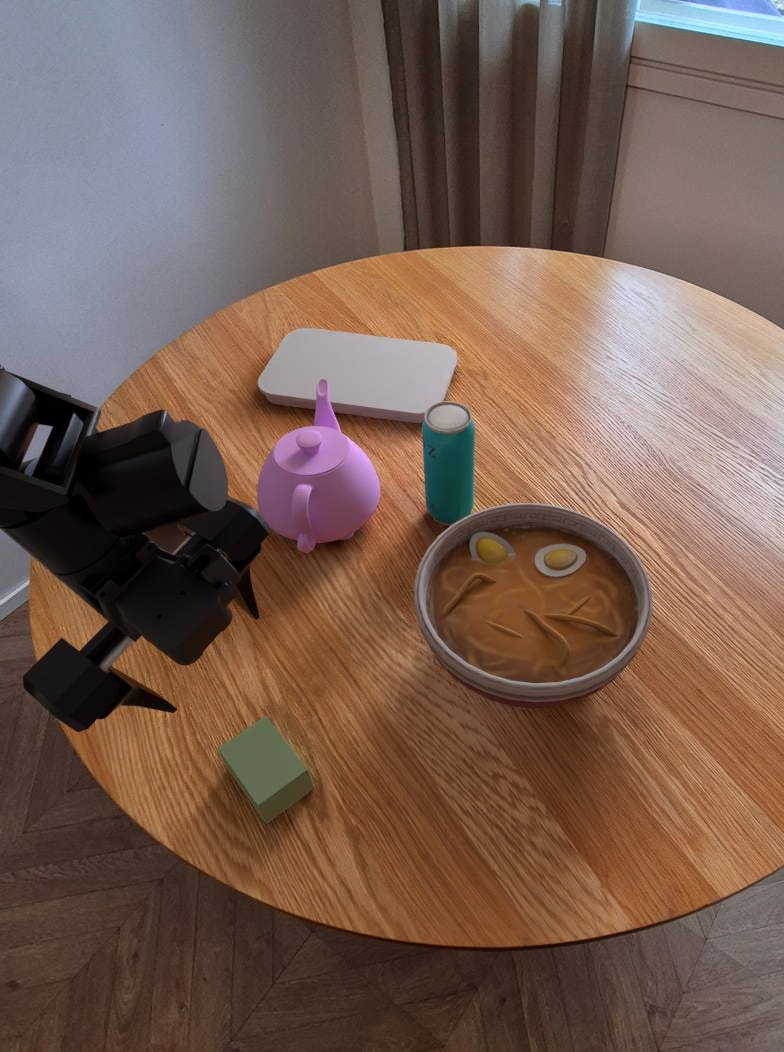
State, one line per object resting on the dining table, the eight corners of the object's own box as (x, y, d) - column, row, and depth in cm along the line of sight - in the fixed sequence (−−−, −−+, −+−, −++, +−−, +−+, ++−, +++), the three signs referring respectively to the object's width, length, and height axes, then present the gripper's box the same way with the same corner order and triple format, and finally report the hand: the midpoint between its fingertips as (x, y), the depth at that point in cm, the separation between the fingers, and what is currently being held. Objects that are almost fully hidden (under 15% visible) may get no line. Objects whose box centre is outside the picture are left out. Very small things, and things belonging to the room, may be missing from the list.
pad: (266, 824, 70) (257, 805, 67) (226, 768, 73) (216, 748, 70) (314, 789, 72) (307, 769, 69) (273, 736, 75) (265, 715, 72)
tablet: (294, 338, 120) (291, 325, 118) (461, 359, 117) (461, 346, 115) (253, 404, 109) (250, 391, 107) (437, 429, 106) (436, 416, 104)
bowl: (498, 533, 93) (501, 471, 86) (674, 625, 85) (694, 565, 77) (372, 666, 81) (363, 607, 73) (564, 791, 72) (575, 738, 65)
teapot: (283, 451, 103) (265, 375, 94) (391, 455, 102) (384, 378, 93) (247, 570, 89) (223, 494, 80) (372, 574, 89) (362, 498, 80)
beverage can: (461, 490, 98) (461, 393, 87) (481, 520, 95) (484, 424, 84) (418, 504, 96) (412, 407, 85) (438, 536, 93) (434, 439, 82)
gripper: (25, 710, 42) (187, 815, 54) (260, 470, 50) (359, 607, 61) (-55, 633, 49) (105, 742, 60) (165, 430, 56) (271, 561, 67)
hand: (215, 661), depth 62 cm, fingers open, 9 cm apart
